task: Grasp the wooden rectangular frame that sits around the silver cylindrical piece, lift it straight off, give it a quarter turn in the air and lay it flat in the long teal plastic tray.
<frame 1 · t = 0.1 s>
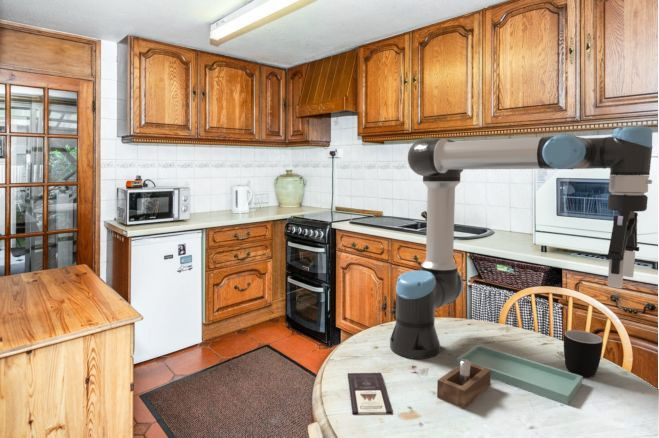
hand: (620, 281, 99), 28 cm above the table, fingers open, 13 cm apart
wooden rectangular frame: (464, 391, 102), on the table
chocolate bar: (367, 395, 102), on the table
mug: (578, 369, 113), on the table
silver cylindrical piece: (464, 391, 102), on the table
tray: (516, 374, 110), on the table
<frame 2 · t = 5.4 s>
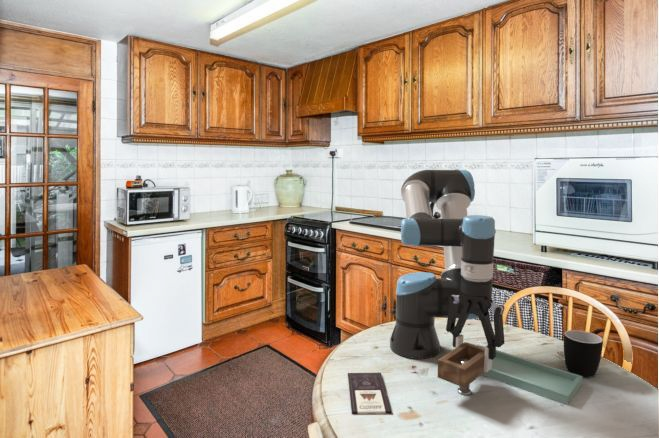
hand: (472, 364, 105), 5 cm above the table, fingers closed on wooden rectangular frame, 7 cm apart
wooden rectangular frame: (464, 371, 102), point 5 cm above the table, touching gripper
everything else where it was.
when the fingers open (2 cm above the table, at t = 9.4 s): wooden rectangular frame stays where it is, resting on tray.
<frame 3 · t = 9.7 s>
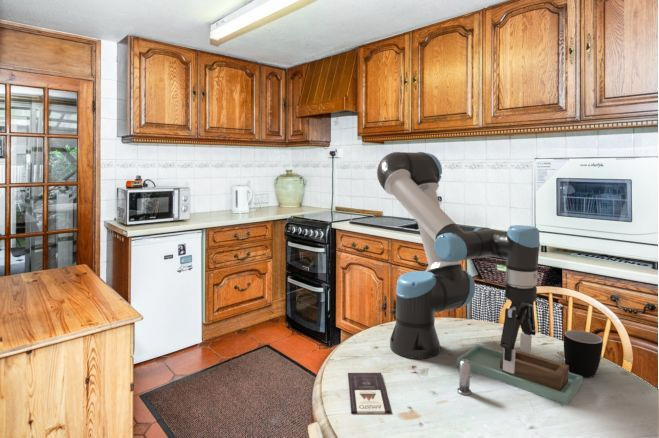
hand: (517, 364, 110), 3 cm above the table, fingers open, 11 cm apart
wooden rectangular frame: (534, 377, 107), point 1 cm above the table, touching tray
everything else where it was.
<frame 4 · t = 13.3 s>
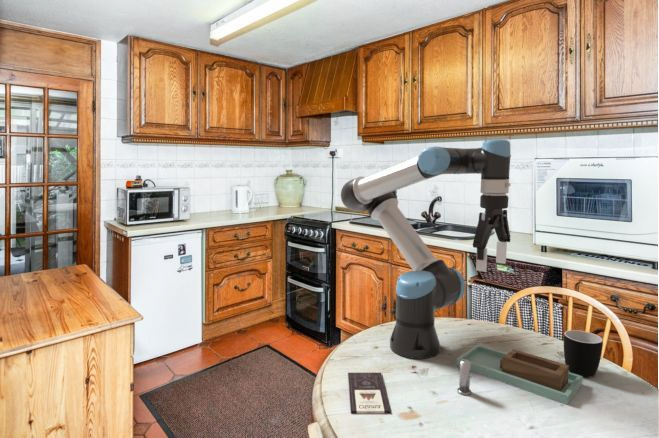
hand: (491, 266, 120), 27 cm above the table, fingers open, 13 cm apart
nothing on the table moved.
at the end: wooden rectangular frame inside the target area on the tray (4.5 cm from its centre), point 0.8 cm above the tray's base; wooden rectangular frame tilted 0°; wooden rectangular frame touching tray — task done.
